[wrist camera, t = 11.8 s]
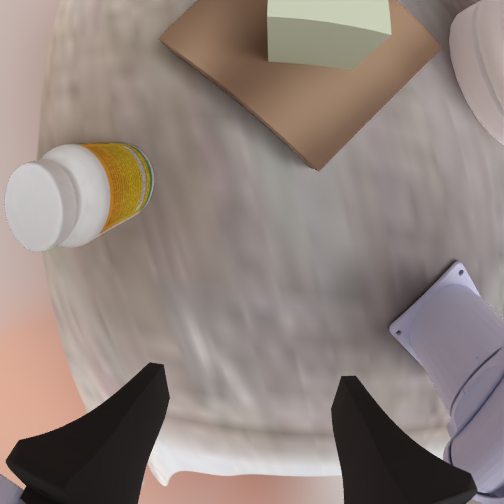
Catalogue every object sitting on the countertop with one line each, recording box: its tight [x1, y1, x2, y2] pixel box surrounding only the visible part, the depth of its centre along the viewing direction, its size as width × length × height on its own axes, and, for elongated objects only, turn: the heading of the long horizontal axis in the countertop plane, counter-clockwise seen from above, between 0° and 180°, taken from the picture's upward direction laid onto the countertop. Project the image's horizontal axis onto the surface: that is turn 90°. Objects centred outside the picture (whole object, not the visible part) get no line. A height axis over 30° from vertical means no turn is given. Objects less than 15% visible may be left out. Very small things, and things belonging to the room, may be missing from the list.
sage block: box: [267, 0, 392, 71], centre depth 10 cm, size 4×4×6 cm
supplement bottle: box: [4, 143, 154, 252], centre depth 15 cm, size 5×5×10 cm
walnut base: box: [159, 0, 442, 171], centre depth 14 cm, size 12×12×3 cm
